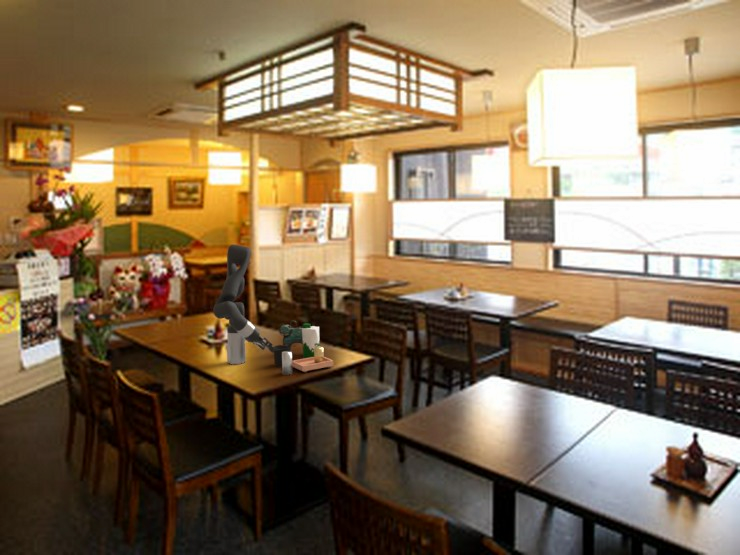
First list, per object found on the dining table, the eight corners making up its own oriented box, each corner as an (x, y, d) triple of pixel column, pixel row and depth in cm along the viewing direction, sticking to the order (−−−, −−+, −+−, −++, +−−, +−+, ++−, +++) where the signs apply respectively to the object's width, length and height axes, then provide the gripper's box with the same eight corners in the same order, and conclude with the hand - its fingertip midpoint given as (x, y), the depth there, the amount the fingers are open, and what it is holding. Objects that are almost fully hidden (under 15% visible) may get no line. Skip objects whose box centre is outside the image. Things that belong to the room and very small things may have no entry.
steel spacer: (285, 375, 272) (284, 354, 271) (280, 373, 276) (280, 352, 275) (294, 373, 275) (293, 352, 273) (289, 371, 279) (289, 350, 277)
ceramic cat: (279, 354, 313) (278, 320, 311) (284, 351, 319) (282, 318, 317) (312, 356, 308) (311, 321, 306) (315, 353, 315) (314, 319, 312)
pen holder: (288, 361, 298) (287, 343, 296) (294, 365, 289) (293, 347, 288) (271, 364, 293) (271, 346, 292) (277, 368, 285) (276, 349, 284)
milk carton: (306, 356, 307) (305, 322, 305) (321, 357, 305) (320, 322, 303) (301, 360, 299) (300, 325, 296) (317, 361, 297) (316, 325, 295)
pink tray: (302, 373, 274) (302, 366, 274) (291, 368, 285) (291, 360, 284) (333, 367, 284) (333, 360, 284) (321, 362, 295) (321, 355, 294)
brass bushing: (317, 364, 283) (316, 349, 282) (312, 362, 287) (312, 347, 286) (325, 362, 286) (325, 347, 285) (320, 360, 290) (320, 345, 289)
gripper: (260, 326, 254) (281, 345, 263) (244, 322, 264) (265, 341, 273) (251, 339, 251) (273, 358, 260) (235, 334, 261) (256, 353, 270)
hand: (269, 349), depth 266 cm, fingers open, 8 cm apart
